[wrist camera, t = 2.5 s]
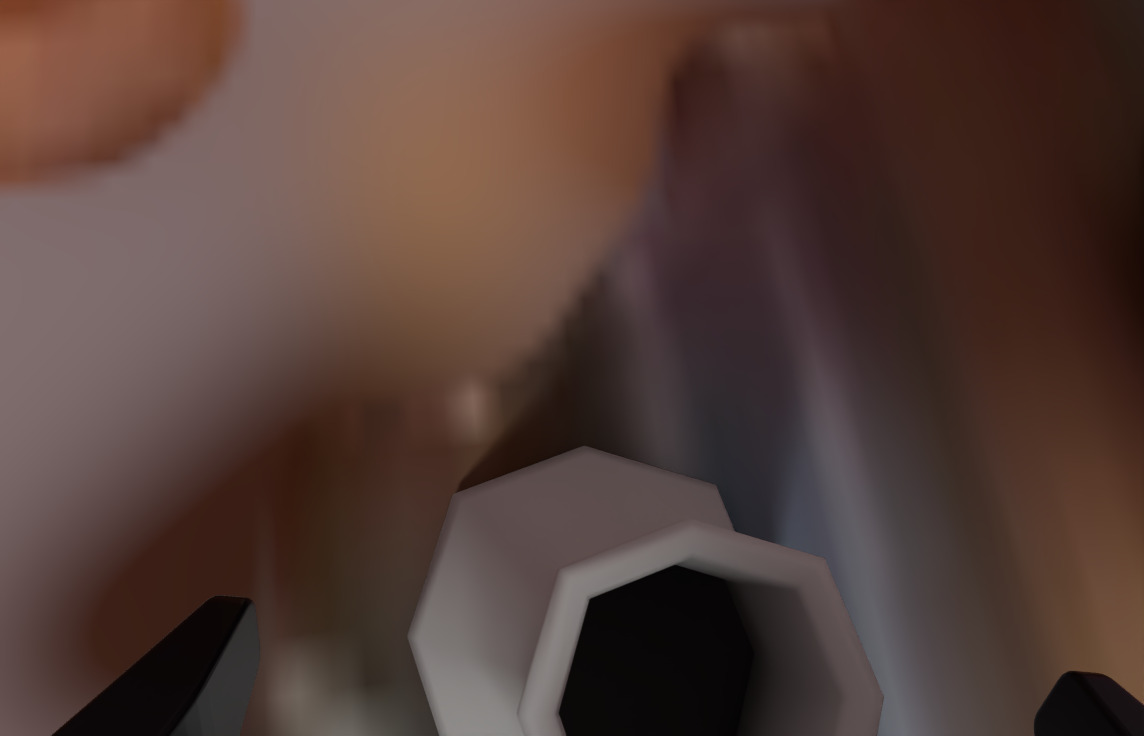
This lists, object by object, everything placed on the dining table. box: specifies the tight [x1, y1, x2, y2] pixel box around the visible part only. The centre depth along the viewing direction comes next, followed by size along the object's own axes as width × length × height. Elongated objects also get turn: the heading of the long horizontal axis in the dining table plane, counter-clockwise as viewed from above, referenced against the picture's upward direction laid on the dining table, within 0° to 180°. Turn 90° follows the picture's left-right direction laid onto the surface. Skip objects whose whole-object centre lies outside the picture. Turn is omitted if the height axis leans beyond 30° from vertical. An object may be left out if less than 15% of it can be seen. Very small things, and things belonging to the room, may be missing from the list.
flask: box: [407, 446, 884, 736], centre depth 12 cm, size 7×7×10 cm
